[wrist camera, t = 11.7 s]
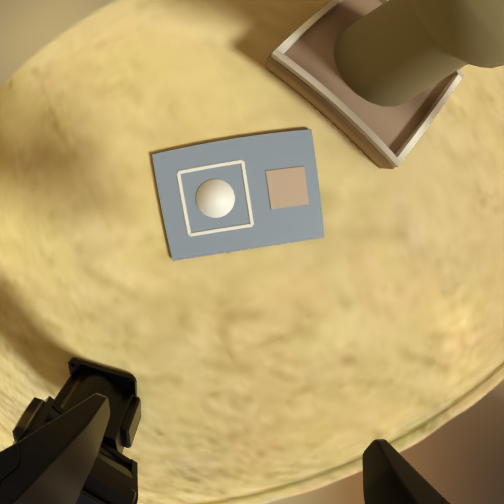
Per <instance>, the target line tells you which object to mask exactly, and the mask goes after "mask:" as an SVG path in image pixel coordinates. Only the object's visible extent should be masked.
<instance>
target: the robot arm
mask: <svg viewBox="0 0 504 504" xmlns="http://www.w3.org/2000/svg"><path fill="white" fill-rule="evenodd" d="M73 363H74V364H73ZM68 364H69V370H70V375H71V376H70V377H69V379H68V380H67V382H66V383H65V384H64V386H63V387H62V389H61V390H60V392H59V393H58V395H57V396H56V398H55V399H53V398H52V397H50V396H49V397H48V398H47V399H46V400H45V401H44V400H41V399H38V398H36V397H34V399H33V400H32V401H31V402H30V404H29V405H28V407H27V408H26V409H25V411H24V412H23V414H22V415H21V417H20V419H19V421H18V422H17V424H16V426H15V428H14V429H13V431H12V432H13V436H14V443H13V445H12V446H10V447H8V448H6V449H5V450H3V451H1V452H0V504H137V501H138V478H137V462H136V461H134V460H132V459H129V458H128V457H126V456H124V455H123V454H122V452H123V449H124V447H126V448H129V447H131V446H132V443H133V440H134V437H135V434H136V430H137V427H138V425H139V422H140V419H141V402H140V398H139V397H137V381H136V379H135V377H133V376H131V375H128V374H124V373H120V372H117V371H113V370H110V369H106V368H103V367H100V366H96V365H93V364H90V363H87V362H84V361H81V360H78V359H75V358H71V359H70V361H69V362H68ZM129 380H130V381H132V382H130V381H129ZM362 459H363V492H364V500H365V504H450V503H449V502H448V501H447V500H446V499H445V498H444V497H442V495H440V494H439V493H438V492H437V491H436V490H435V489H434V488H433V487H432V486H431V485H430V484H429V483H428V482H427V481H426V480H425V479H424V478H423V477H422V476H421V475H420V474H419V473H418V472H417V471H416V470H415V469H414V468H413V467H412V466H411V465H410V464H409V463H408V462H407V461H406V460H405V459H404V458H403V457H402V456H401V455H400V454H399V453H398V452H397V451H396V450H395V449H394V448H393V447H392V446H391V445H390V444H389V443H388V442H387V441H386V440H385V439H376V440H374V441H373V442H372V443H371V444H370V445H369V446H368V448H367V449H366V450H365V451H364V453H363V457H362Z"/></svg>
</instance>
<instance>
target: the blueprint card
mask: <svg viewBox="0 0 504 504" xmlns="http://www.w3.org/2000/svg"><path fill="white" fill-rule="evenodd" d="M152 157H153V164H154V170H155V176H156V181H157V187H158V193H159V198H160V204H161V209H162V214H163V219H164V224H165V229H166V234H167V238H168V243H169V248H170V252H171V256H172V261H175V260H181V259H188V258H194V257H200V256H207V255H213V254H220V253H226V252H233V251H239V250H246V249H252V248H258V247H265V246H271V245H278V244H284V243H291V242H297V241H304V240H311V239H317V238H324V228H323V218H322V208H321V199H320V191H319V182H318V174H317V167H316V159H315V152H314V145H313V138H312V132H311V129H308V130H297V131H287V132H278V133H269V134H262V135H254V136H247V137H240V138H234V139H227V140H221V141H216V142H210V143H204V144H199V145H194V146H189V147H184V148H179V149H174V150H170V151H165V152H161V153H157V154H152Z"/></svg>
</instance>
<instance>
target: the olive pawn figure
mask: <svg viewBox="0 0 504 504" xmlns="http://www.w3.org/2000/svg"><path fill="white" fill-rule="evenodd" d="M334 58H335V62H336V66H337V69H338V71H339V73H340V75H341V76H342V78H343V80H344V82H345V83H346V84H347V85H348V86H349V87H350V88H351V89H352V90H353V91H354V92H355V93H356V94H357V95H359V96H360V97H362V98H363V99H365V100H366V101H368V102H370V103H373V104H376V105H379V106H382V107H395V106H398V105H400V104H403V103H406V102H407V101H409V100H410V99H412V98H414V97H415V96H417V95H418V94H420V93H421V92H423V91H425V90H426V89H428V88H429V87H431V86H433V85H434V84H436V83H437V82H439V81H441V80H442V79H444V78H445V77H447V76H449V75H450V74H452V73H454V72H455V71H457V70H458V69H460V68H462V67H463V66H465V65H467V64H470V65H474V66H478V67H485V68H494V67H498V66H502V65H504V0H388V1H387V2H385V3H384V4H382V5H380V6H379V7H377V8H376V9H374V10H373V11H371V12H370V13H368V14H367V15H365V16H364V17H362V18H361V19H359V20H358V21H356V22H355V23H353V24H352V25H351V26H349V27H348V28H346V29H345V30H344V31H342V32H341V33H340V35H339V37H338V38H337V40H336V42H335V49H334Z"/></svg>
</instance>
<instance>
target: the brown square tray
mask: <svg viewBox="0 0 504 504" xmlns="http://www.w3.org/2000/svg"><path fill="white" fill-rule="evenodd" d="M387 1H388V0H331V1H330V2H328V3H327V4H326V5H325V6H323V7H322V8H321V9H320V10H319V11H317V12H316V13H315V14H314V15H313V16H312V17H310V18H309V19H308V20H307V21H306V22H305V23H304V24H302V25H301V26H300V27H299V28H298V29H297V30H296V31H295V32H294V33H292V34H291V35H290V36H289V37H288V38H287V39H286V40H285V41H284V42H283V43H282V44H281V45H280V46H279V47H278V48H277V49H276V50H274V51H273V52H272V54H271V55H270V56H269V57H268V60H267V64H266V68H267V69H268V70H270V71H271V72H273V73H274V74H275V75H277V76H278V77H279V78H280V79H282V80H283V81H284V82H286V83H287V84H288V85H289V86H291V87H292V88H293V89H294V90H296V91H297V92H298V93H299V94H301V95H302V96H303V97H304V98H305V99H307V100H308V101H309V102H310V103H311V104H313V105H314V106H315V107H316V108H317V109H318V110H320V111H321V112H322V113H323V114H324V115H325V116H326V117H327V118H329V119H330V120H331V121H332V122H333V123H334V124H335V125H336V126H337V127H338V128H340V129H341V130H342V131H343V132H344V133H345V134H346V135H347V136H348V137H349V138H350V139H351V140H352V141H353V142H354V143H355V144H356V145H357V146H358V147H359V148H360V149H361V150H362V151H363V152H364V153H365V154H366V155H367V156H368V157H369V158H370V159H371V160H372V161H373V162H374V163H375V164H376V165H377V166H378V167H379V168H385V169H394V167H398V166H399V165H400V163H401V162H402V161H403V159H404V158H405V157H406V156H407V154H408V153H409V152H410V150H411V149H412V148H413V146H414V145H415V144H416V142H417V141H418V140H419V138H420V137H421V136H422V134H423V133H424V132H425V130H426V129H427V127H428V126H429V125H430V123H431V122H432V121H433V119H434V118H435V116H436V115H437V114H438V112H439V111H440V109H441V108H442V107H443V105H444V104H445V102H446V101H447V99H448V98H449V97H450V95H451V94H452V92H453V91H454V89H455V88H456V86H457V85H458V83H459V82H460V81H461V79H462V78H463V76H464V75H463V74H462V72H461V71H460V70H459V69H458V70H457V71H455V72H454V73H452V74H450V75H449V76H447V77H445V78H444V79H442V80H441V81H439V82H437V83H436V84H434V85H433V86H431V87H429V88H428V89H426V90H425V91H423V92H421V93H420V94H418V95H417V96H415V97H414V98H412V99H410V100H409V101H407V102H406V103H403V104H400V105H398V106H395V107H382V106H379V105H376V104H373V103H370V102H368V101H366V100H365V99H363V98H362V97H360V96H359V95H357V94H356V93H355V92H354V91H353V90H352V89H351V88H350V87H349V86H348V85H347V84H346V83H345V82H344V80H343V78H342V76H341V75H340V73H339V71H338V69H337V66H336V62H335V58H334V49H335V42H336V40H337V38H338V37H339V35H340V33H341V32H342V31H344V30H345V29H346V28H348V27H349V26H351V25H352V24H353V23H355V22H356V21H358V20H359V19H361V18H362V17H364V16H365V15H367V14H368V13H370V12H371V11H373V10H374V9H376V8H377V7H379V6H380V5H382V4H384V3H385V2H387Z"/></svg>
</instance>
